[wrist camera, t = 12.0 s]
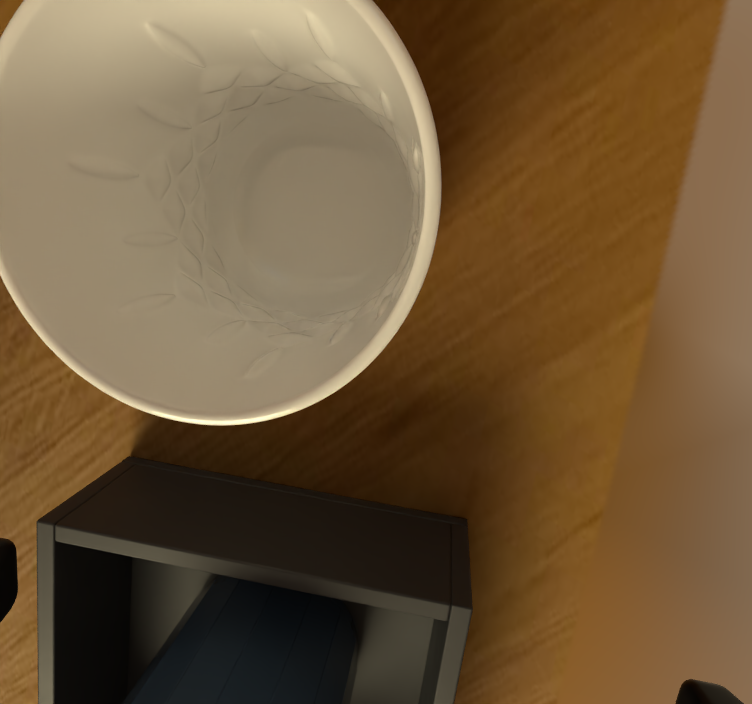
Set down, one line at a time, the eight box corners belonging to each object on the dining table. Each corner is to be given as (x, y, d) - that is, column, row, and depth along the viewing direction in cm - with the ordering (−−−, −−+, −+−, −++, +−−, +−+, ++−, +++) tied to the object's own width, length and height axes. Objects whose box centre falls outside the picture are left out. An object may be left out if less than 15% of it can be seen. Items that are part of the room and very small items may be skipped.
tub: (467, 518, 20) (472, 608, 15) (414, 800, 23) (404, 949, 18) (128, 455, 22) (35, 520, 17) (119, 730, 25) (38, 853, 20)
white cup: (380, 39, 17) (292, -209, 8) (485, 269, 18) (525, 310, 9) (174, 160, 19) (-116, 84, 9) (281, 365, 20) (122, 491, 10)
